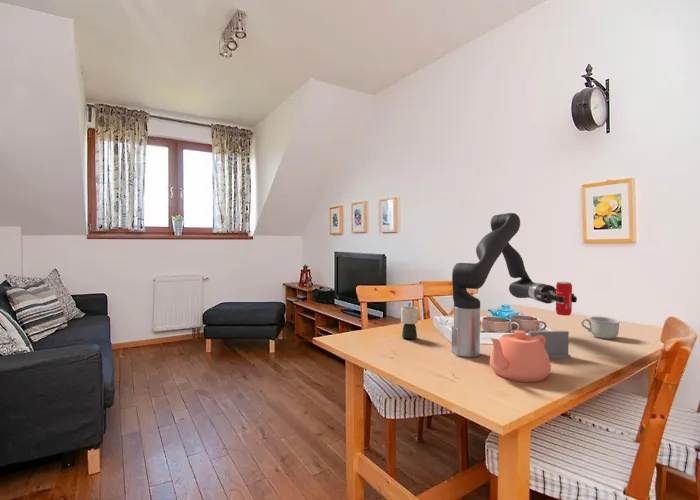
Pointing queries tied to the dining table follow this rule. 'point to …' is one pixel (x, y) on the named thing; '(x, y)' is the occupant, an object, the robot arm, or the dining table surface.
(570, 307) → the beverage can
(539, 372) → the teapot
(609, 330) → the teacup
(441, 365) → the dining table surface
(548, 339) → the screen
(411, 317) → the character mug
